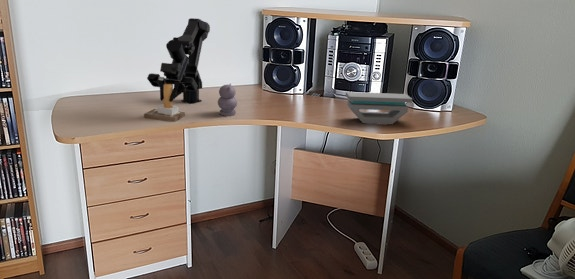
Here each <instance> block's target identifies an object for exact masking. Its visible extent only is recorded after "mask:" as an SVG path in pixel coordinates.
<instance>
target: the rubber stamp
mask: <svg viewBox="0 0 575 279" xmlns="http://www.w3.org/2000/svg"><path fill="white" fill-rule="evenodd" d="M173 88H174V85H173V84H164V99H163V104H162V105H161V104H160V105H159V106H157V109H158V113H161V114H166V115H171V116H172V115H174V114H176V113H178V111H179V106H178V105H174V100H173V101H172V102H170V101H169V99H170V96H171V93H172V91H173Z"/></svg>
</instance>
